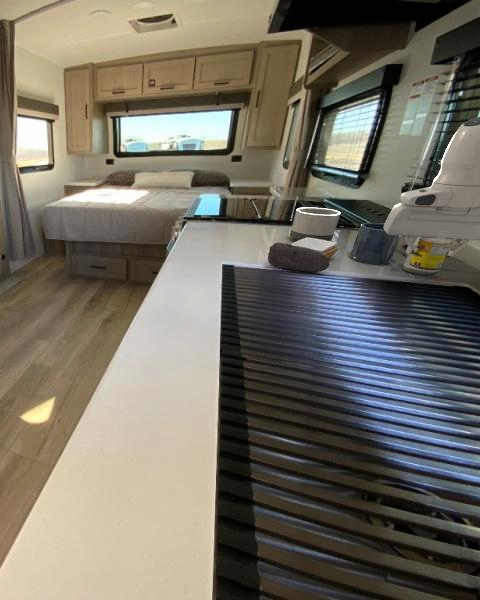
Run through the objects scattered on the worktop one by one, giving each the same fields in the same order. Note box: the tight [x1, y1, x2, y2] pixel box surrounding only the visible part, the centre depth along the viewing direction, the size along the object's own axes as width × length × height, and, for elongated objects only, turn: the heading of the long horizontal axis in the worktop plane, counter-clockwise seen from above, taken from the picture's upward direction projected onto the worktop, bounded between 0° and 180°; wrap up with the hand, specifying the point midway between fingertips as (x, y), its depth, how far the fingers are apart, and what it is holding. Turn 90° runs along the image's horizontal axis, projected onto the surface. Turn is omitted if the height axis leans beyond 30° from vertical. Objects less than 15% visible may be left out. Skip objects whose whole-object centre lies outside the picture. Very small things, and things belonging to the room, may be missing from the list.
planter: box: [289, 207, 342, 242], centre depth 117 cm, size 13×13×10 cm
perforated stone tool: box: [267, 242, 331, 273], centre depth 93 cm, size 15×5×7 cm, turn 52°
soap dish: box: [290, 237, 340, 260], centre depth 102 cm, size 12×10×5 cm
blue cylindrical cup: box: [349, 222, 402, 266], centre depth 99 cm, size 10×10×10 cm
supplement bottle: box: [409, 230, 454, 273], centre depth 80 cm, size 6×6×10 cm
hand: (428, 255), depth 81 cm, fingers closed on supplement bottle, 5 cm apart
